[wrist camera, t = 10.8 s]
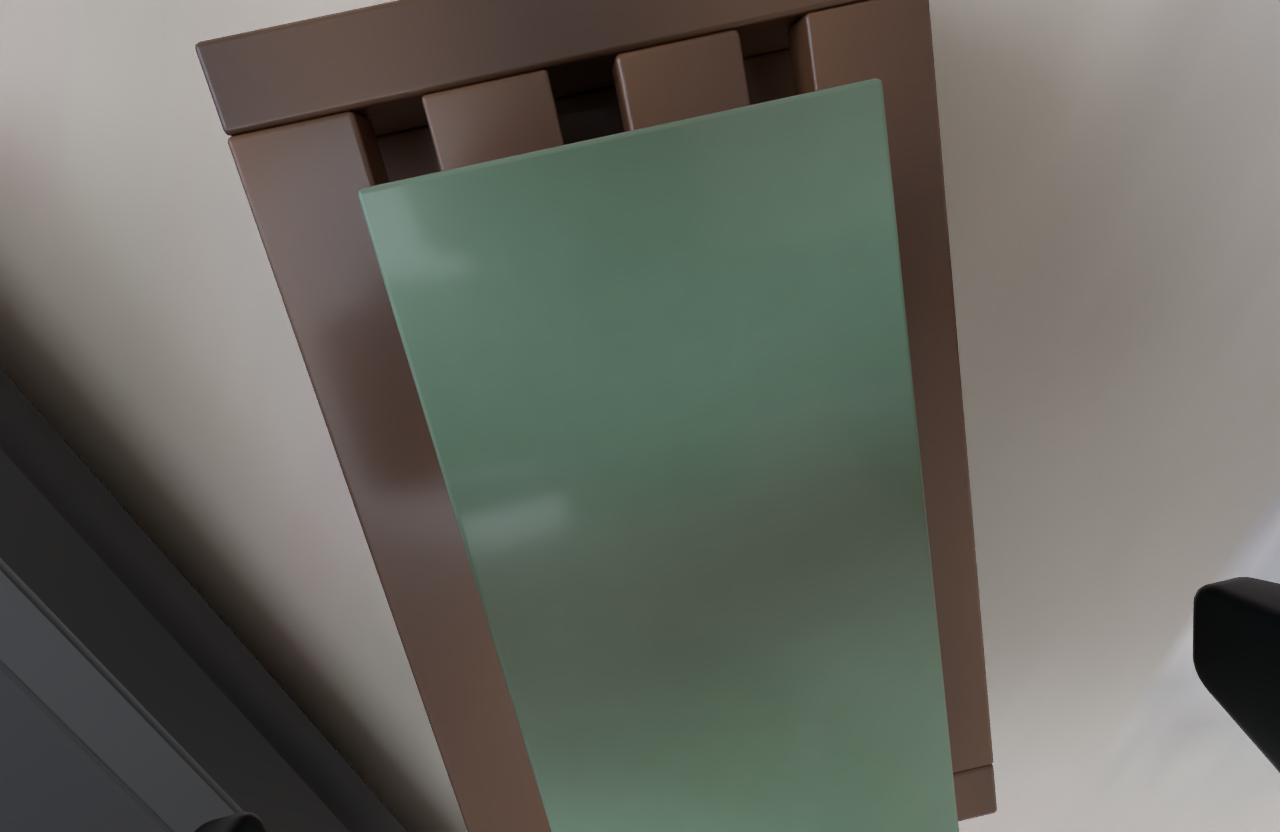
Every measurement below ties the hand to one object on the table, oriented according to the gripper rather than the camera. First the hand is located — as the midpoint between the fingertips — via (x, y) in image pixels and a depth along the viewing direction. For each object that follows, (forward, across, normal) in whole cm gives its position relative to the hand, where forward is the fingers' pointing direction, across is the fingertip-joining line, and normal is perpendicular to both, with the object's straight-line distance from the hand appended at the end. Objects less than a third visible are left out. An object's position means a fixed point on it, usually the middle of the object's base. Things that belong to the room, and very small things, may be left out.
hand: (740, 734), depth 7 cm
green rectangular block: (+6, 0, 0) cm, 6 cm away
